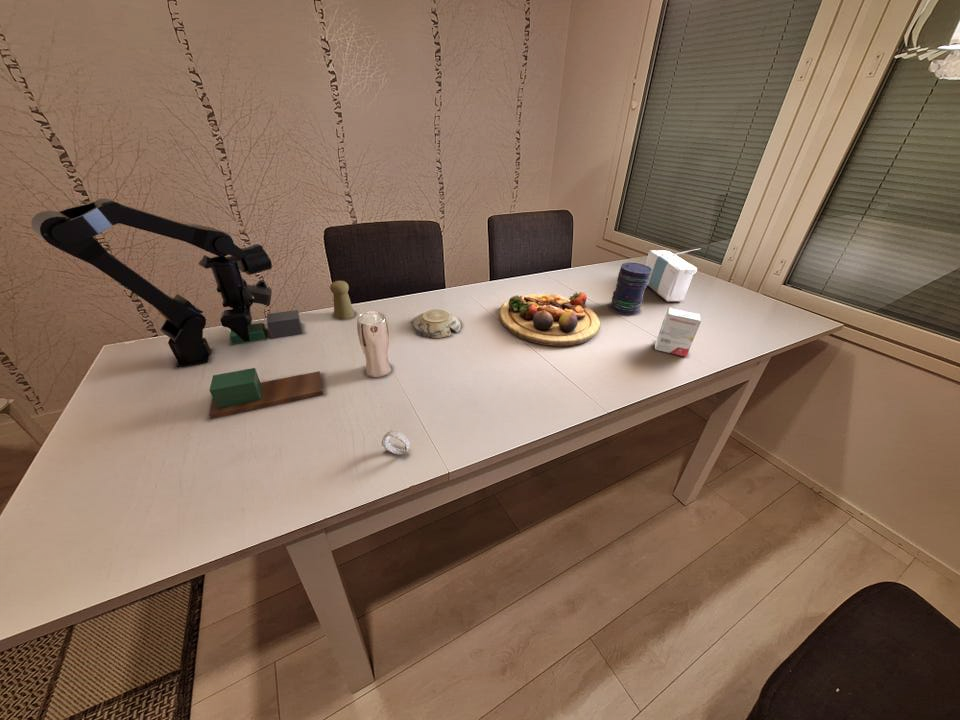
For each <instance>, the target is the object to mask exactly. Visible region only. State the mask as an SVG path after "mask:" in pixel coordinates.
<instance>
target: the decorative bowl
mask: <svg viewBox="0 0 960 720" xmlns="http://www.w3.org/2000/svg"><path fill="white" fill-rule="evenodd" d="M412 326H413V329H414V330H415V331H416V333H417V335H418V336H421V337H424V338H432V339H442V338H446V337H450V336H452V332H451V330H453V331H454V332H455V333H458V332H459V331H460V330H461V322H460V320H459V318H458V317H457V316H455V315H454V314H452V313H450V312H448V311H446V310H444V309H436V308H435V309H429V310H426V311H424V312H422V313H420V314H419V315H417V316H416V318H415V319H414V320H413V321H412Z"/></svg>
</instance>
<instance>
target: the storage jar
mask: <svg viewBox="0 0 960 720" xmlns="http://www.w3.org/2000/svg"><path fill="white" fill-rule="evenodd" d="M651 271H652V269H651V268H650V267H648V266H646V265H645V264H643V263H638V262H624V263H622V264H621V265H620V269H619V272H618V274H617V278H616V286H615V290H614V291H613V293H612V296H611V302H610V305H609V308H610V309H611V310H612V311H613V312H614V313H615V312H616V313H617V314H620V315H625V316H635V315H636V314H639V312H640V308H641V306H642V304H643V301H644V294H645V290H646V288H648V282H649V279H650V274H651Z"/></svg>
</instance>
